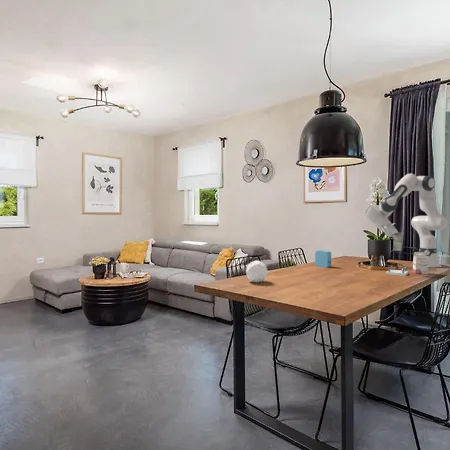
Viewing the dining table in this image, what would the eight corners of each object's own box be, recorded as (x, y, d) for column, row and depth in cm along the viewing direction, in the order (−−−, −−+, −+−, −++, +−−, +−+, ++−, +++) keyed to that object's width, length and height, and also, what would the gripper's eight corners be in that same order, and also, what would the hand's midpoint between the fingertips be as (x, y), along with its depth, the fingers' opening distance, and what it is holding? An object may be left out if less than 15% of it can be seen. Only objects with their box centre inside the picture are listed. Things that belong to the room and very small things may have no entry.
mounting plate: (389, 271, 264) (389, 269, 263) (408, 273, 257) (408, 271, 256) (386, 274, 254) (386, 271, 254) (405, 275, 247) (405, 273, 247)
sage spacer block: (394, 249, 257) (395, 232, 257) (401, 250, 255) (402, 232, 254) (393, 250, 254) (394, 232, 253) (400, 250, 251) (401, 233, 251)
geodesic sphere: (250, 276, 217) (261, 256, 221) (236, 272, 229) (247, 254, 233) (265, 288, 224) (275, 269, 228) (251, 284, 235) (261, 266, 239)
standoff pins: (391, 269, 262) (391, 265, 262) (406, 271, 256) (406, 266, 256) (388, 271, 254) (388, 267, 254) (403, 273, 248) (404, 268, 248)
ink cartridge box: (415, 274, 254) (416, 252, 253) (412, 272, 259) (413, 251, 258) (428, 274, 253) (429, 252, 252) (425, 273, 258) (426, 252, 257)
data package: (331, 267, 282) (331, 251, 282) (327, 267, 280) (327, 252, 279) (318, 265, 292) (318, 250, 291) (314, 265, 289) (315, 250, 289)
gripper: (384, 222, 249) (399, 237, 244) (390, 221, 265) (405, 235, 260) (377, 228, 252) (392, 244, 246) (384, 227, 268) (398, 241, 263)
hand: (399, 239), depth 254 cm, fingers closed on sage spacer block, 4 cm apart
